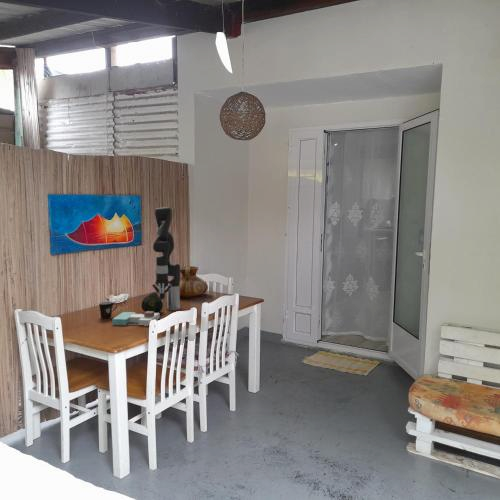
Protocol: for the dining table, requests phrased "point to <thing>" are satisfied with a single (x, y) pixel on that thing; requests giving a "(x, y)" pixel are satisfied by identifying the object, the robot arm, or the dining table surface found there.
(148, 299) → the squash
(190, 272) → the jug
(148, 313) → the walnut block
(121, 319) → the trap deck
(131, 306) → the dining table surface
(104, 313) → the coffee mug
